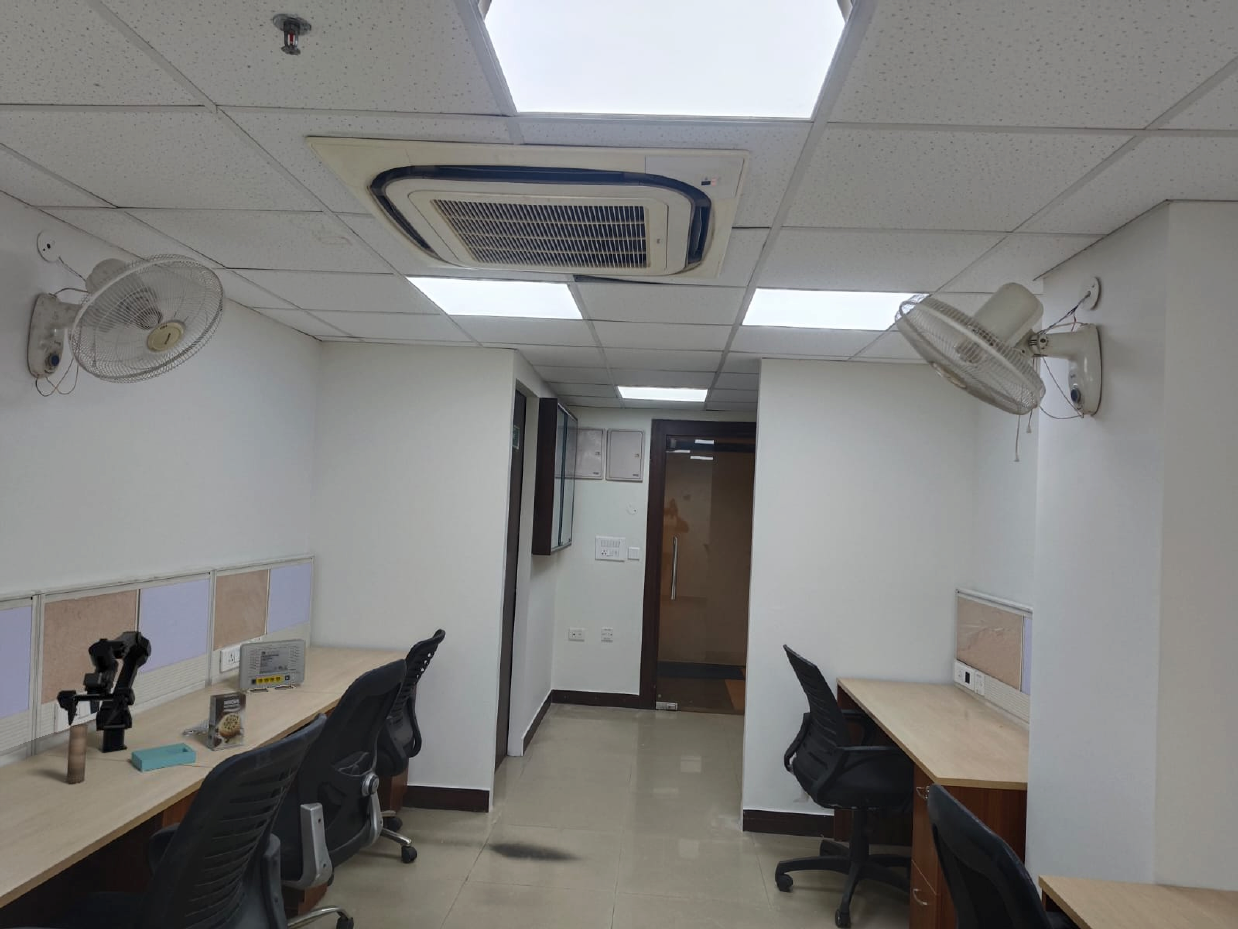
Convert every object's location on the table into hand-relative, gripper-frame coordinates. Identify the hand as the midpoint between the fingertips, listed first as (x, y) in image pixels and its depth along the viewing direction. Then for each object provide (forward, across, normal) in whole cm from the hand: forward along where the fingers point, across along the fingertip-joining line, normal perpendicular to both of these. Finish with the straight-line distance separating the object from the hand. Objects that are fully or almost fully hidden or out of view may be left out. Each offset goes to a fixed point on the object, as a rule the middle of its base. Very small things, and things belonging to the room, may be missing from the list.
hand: (88, 724), depth 224 cm
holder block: (+5, +18, +14) cm, 24 cm away
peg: (+15, 0, +4) cm, 16 cm away
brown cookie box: (-4, +33, +24) cm, 41 cm away
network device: (-63, +36, +82) cm, 109 cm away
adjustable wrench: (-23, +22, +43) cm, 54 cm away
